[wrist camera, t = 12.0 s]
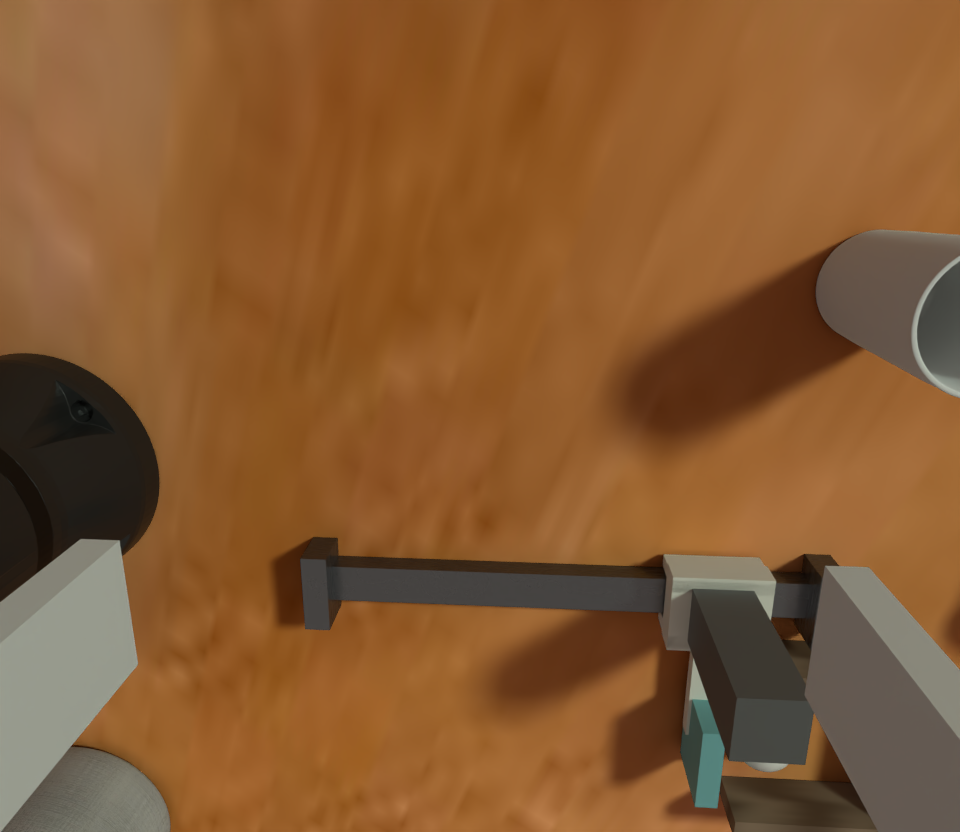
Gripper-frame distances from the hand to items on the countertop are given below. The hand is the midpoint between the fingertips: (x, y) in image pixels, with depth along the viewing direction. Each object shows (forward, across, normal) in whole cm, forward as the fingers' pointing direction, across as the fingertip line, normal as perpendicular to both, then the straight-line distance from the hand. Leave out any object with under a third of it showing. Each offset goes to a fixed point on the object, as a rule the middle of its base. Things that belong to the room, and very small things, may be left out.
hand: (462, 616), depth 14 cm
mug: (+32, +22, +3) cm, 39 cm away
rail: (+32, +4, -17) cm, 36 cm away
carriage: (+31, +13, -22) cm, 41 cm away
